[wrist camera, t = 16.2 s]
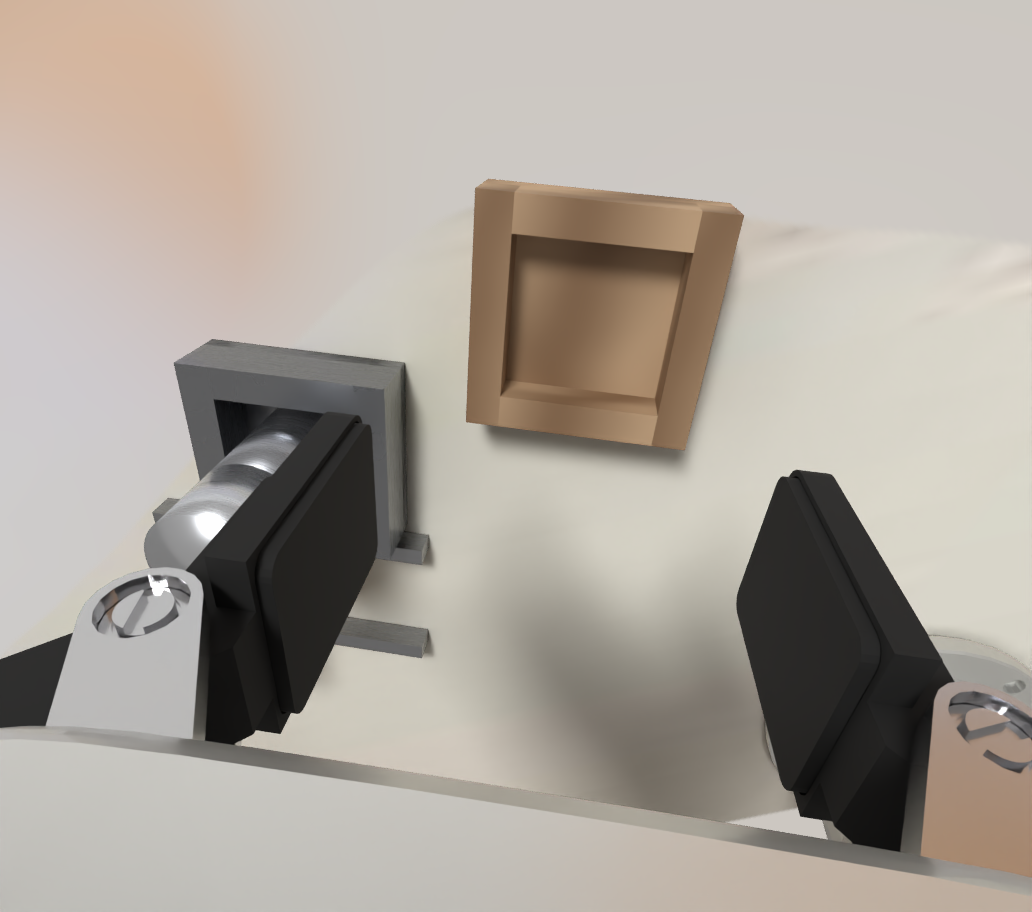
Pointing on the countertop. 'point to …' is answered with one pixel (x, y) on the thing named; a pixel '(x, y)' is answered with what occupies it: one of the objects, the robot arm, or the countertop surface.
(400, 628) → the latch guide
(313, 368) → the socket
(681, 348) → the wooden square tray
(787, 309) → the countertop surface
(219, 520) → the silver metal cylinder
